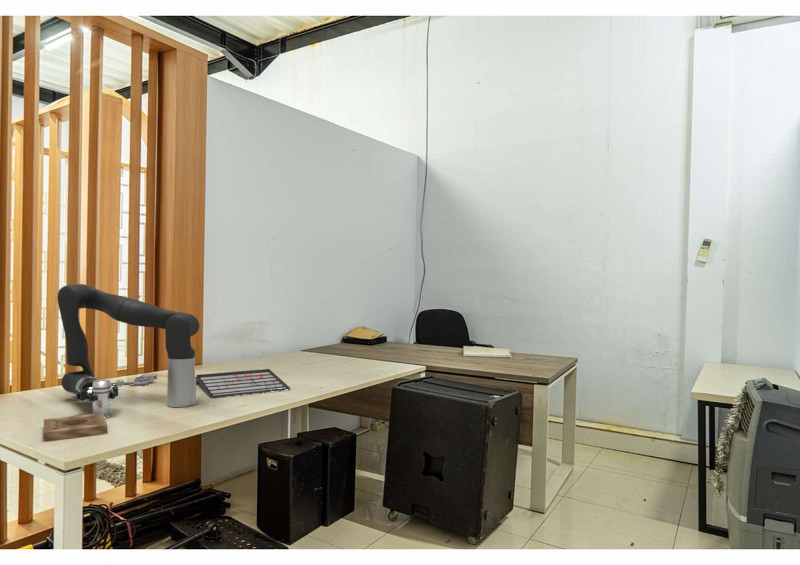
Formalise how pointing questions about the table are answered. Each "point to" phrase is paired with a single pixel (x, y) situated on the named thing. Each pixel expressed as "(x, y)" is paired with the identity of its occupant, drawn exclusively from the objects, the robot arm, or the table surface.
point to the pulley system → (137, 380)
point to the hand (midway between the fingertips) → (103, 397)
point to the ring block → (74, 426)
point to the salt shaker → (102, 396)
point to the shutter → (240, 383)
